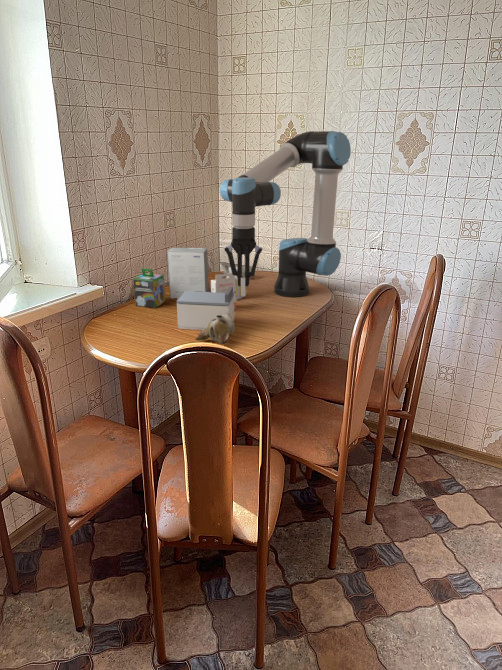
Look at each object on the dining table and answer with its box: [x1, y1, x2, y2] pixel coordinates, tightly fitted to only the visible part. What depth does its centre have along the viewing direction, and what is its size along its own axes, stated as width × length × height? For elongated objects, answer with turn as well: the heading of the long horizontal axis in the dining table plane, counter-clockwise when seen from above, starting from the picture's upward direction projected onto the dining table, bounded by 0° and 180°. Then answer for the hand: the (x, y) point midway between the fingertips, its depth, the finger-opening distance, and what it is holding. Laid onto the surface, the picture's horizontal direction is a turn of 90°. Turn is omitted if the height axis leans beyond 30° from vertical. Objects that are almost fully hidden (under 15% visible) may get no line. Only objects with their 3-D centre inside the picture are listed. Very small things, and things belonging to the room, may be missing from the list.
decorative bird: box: [218, 260, 256, 280], centre depth 239 cm, size 6×17×8 cm, turn 79°
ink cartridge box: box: [210, 273, 237, 310], centre depth 195 cm, size 9×5×15 cm, turn 117°
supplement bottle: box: [226, 267, 244, 301], centre depth 209 cm, size 7×7×13 cm
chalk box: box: [132, 267, 167, 309], centre depth 200 cm, size 9×9×15 cm
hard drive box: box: [166, 247, 210, 300], centre depth 209 cm, size 16×8×20 cm, turn 84°
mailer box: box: [176, 296, 235, 331], centre depth 180 cm, size 18×12×9 cm, turn 83°
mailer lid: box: [176, 286, 234, 306], centre depth 178 cm, size 18×12×4 cm, turn 83°
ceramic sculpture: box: [195, 313, 236, 345], centre depth 167 cm, size 11×9×15 cm
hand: (243, 295), depth 176 cm, fingers closed
